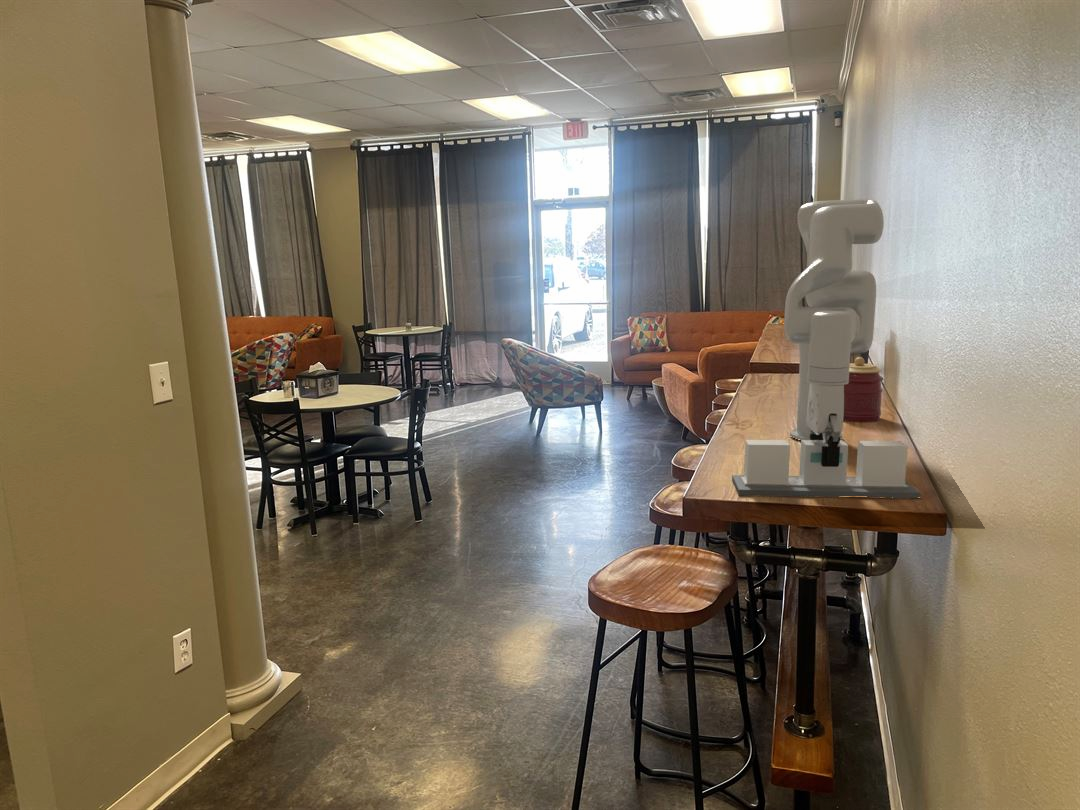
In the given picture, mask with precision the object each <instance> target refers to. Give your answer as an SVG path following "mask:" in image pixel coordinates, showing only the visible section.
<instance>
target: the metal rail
mask: <svg viewBox="0 0 1080 810" xmlns="http://www.w3.org/2000/svg"><path fill="white" fill-rule="evenodd" d="M741 479H742V481H743V483H744V485H745V486H779V487H838V488H897V489H908V486H907V485H906V484H905V486H880V485H861V484H860V483H859V482H858V481H857V480H856V479H855V478H846V485H836V484H803V482H802V481H801V480H800V478H790V477H789V479H788V484H759V483H747V482H746V480H745V478H744V477H741Z"/></svg>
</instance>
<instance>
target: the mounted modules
mask: <svg viewBox="0 0 1080 810" xmlns="http://www.w3.org/2000/svg"><path fill="white" fill-rule="evenodd" d="M744 440H745V441H744V460H745V466H744V465H743V473H744V478H745V480H746V482H747V483H759V484H788V479H789V476H790V456H791V455H790V454H791V453H790V452H791V445H790V443H789V442H788V441H787V440H786V439H744ZM908 449H909V445H906V444H905V443H904V442H902V441H900V440H899V441H898V440H897V441H895V440H858V441H857V456H856V472H855V473H856V474H855V477H856V480H857V481H858V482H859V483H860V484H861V485H880V486H905V480H906V475H907V463H908Z"/></svg>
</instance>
